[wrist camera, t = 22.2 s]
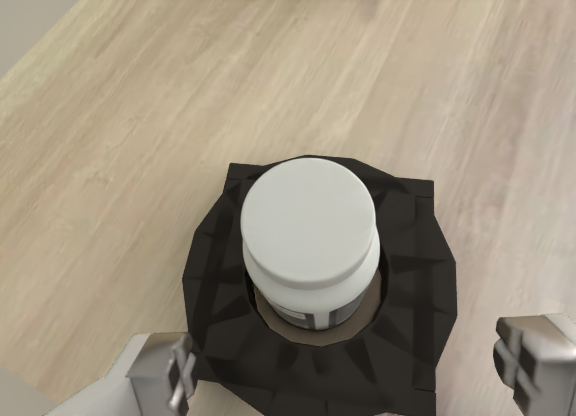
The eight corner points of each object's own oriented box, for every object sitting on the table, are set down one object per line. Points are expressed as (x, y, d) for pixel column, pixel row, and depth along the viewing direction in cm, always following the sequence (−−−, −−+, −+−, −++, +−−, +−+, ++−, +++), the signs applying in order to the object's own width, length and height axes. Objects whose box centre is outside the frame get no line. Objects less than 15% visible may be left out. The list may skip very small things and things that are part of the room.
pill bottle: (344, 224, 23) (358, 125, 14) (379, 315, 20) (422, 267, 11) (255, 250, 23) (211, 167, 14) (280, 346, 20) (246, 321, 11)
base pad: (444, 443, 18) (462, 453, 16) (169, 393, 20) (150, 395, 18) (440, 186, 23) (452, 166, 21) (226, 167, 25) (217, 146, 23)
